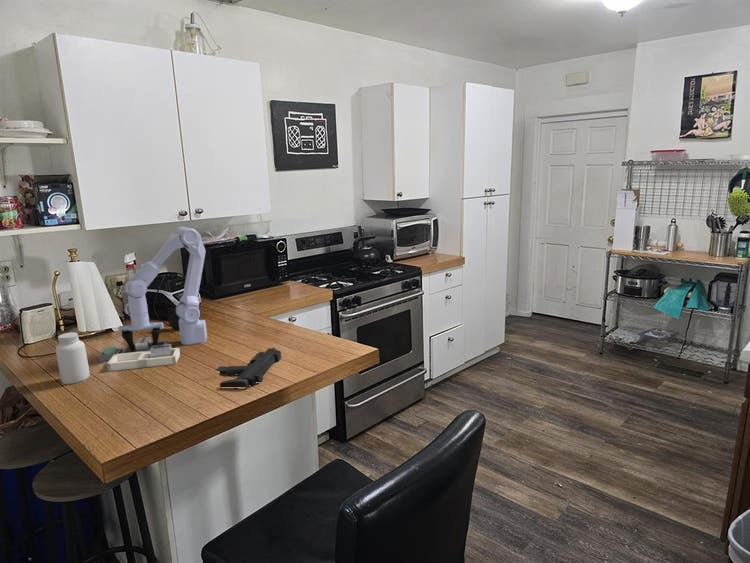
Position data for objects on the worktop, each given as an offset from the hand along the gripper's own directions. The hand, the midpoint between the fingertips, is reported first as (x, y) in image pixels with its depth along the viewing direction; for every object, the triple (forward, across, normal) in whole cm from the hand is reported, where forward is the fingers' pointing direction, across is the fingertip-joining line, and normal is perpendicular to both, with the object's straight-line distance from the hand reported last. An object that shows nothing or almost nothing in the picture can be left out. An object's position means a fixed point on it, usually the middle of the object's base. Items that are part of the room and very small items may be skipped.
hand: (144, 349), depth 175 cm
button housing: (+2, +10, +2) cm, 11 cm away
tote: (+2, 0, 0) cm, 2 cm away
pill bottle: (+2, +17, +17) cm, 24 cm away
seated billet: (+1, -8, +11) cm, 14 cm away
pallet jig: (+2, -2, +11) cm, 11 cm away
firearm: (+3, -35, +24) cm, 42 cm away
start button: (+1, +10, +2) cm, 11 cm away
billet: (+2, 0, 0) cm, 2 cm away
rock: (+2, -10, -28) cm, 30 cm away
